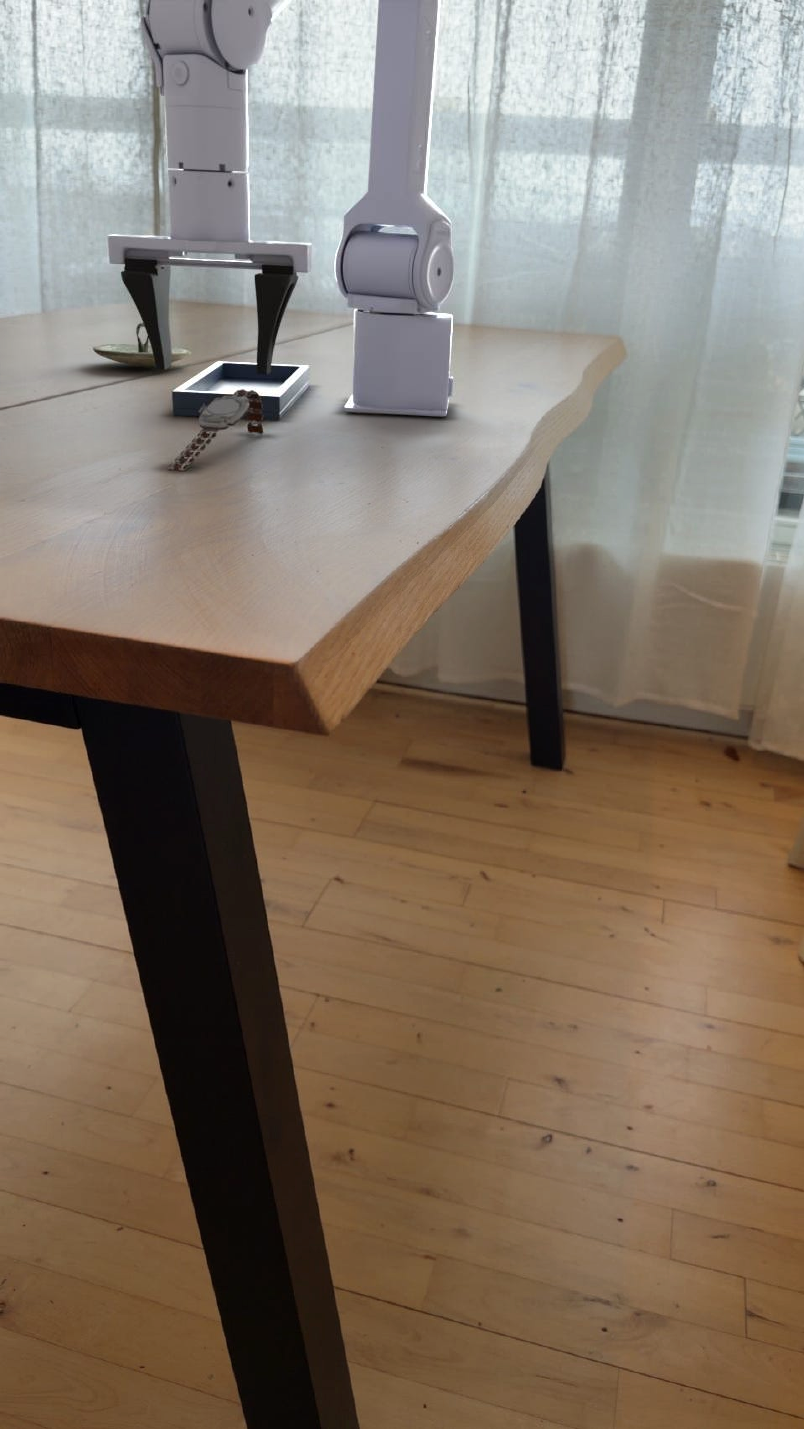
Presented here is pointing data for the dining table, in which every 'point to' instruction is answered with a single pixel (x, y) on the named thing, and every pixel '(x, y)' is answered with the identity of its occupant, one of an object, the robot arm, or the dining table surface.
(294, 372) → the holder
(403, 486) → the dining table surface
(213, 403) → the wristwatch
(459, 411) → the dining table surface
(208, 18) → the robot arm
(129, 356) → the lid
